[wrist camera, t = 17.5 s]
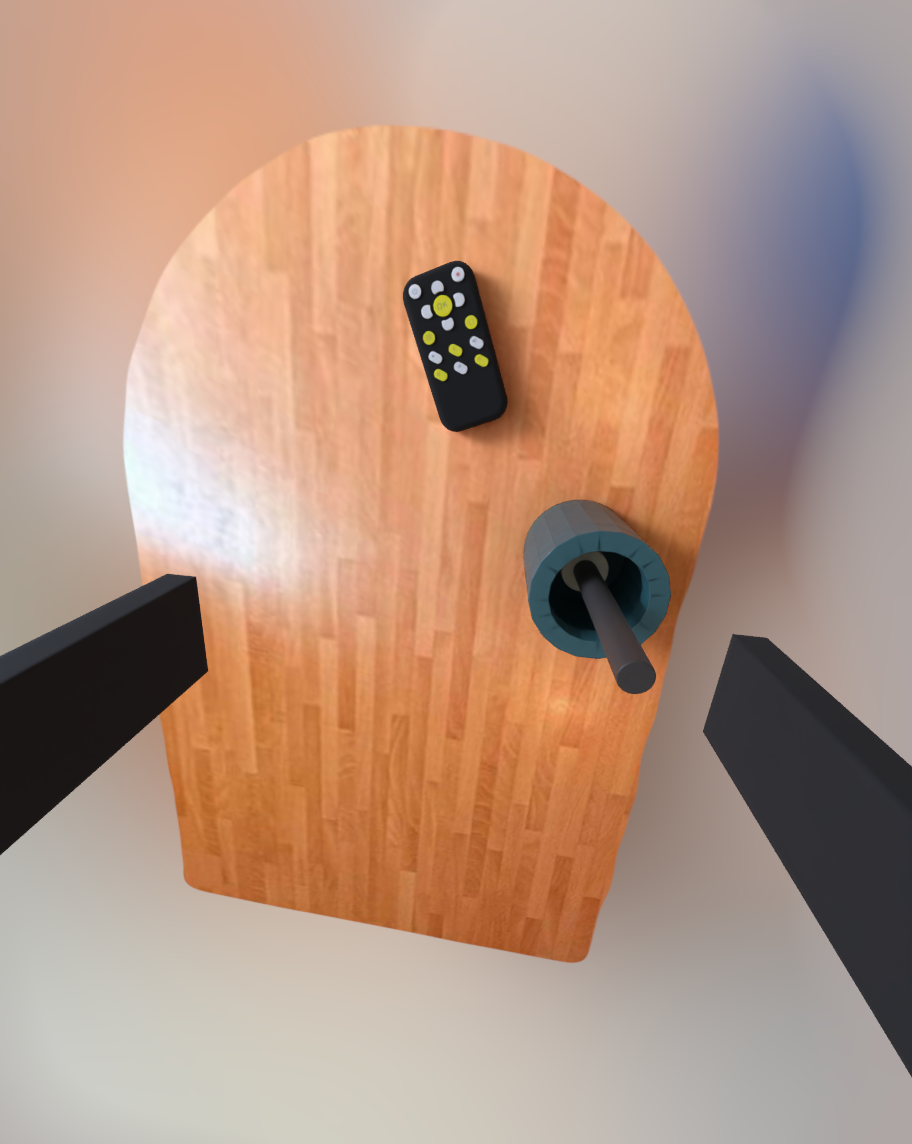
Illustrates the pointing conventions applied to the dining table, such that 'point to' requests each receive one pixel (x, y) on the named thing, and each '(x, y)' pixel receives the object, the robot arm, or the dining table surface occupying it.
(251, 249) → the dining table surface
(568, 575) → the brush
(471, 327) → the remote control
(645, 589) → the jar
